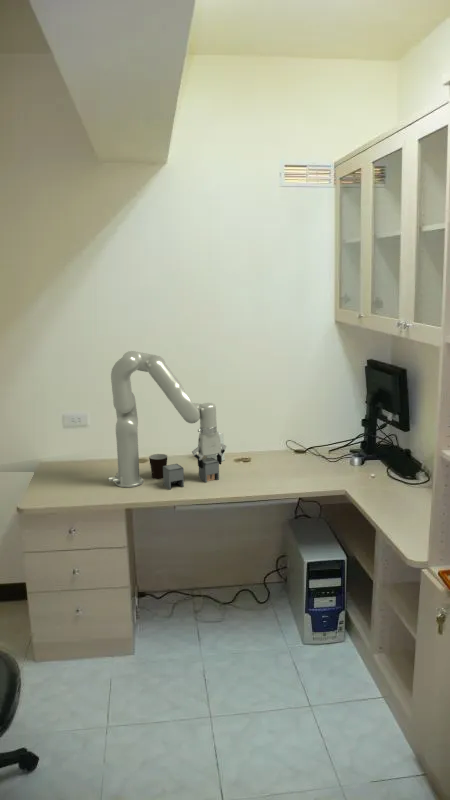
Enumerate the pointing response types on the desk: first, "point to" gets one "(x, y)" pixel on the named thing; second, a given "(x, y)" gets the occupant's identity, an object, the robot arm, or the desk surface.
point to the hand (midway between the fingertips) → (210, 465)
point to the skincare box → (221, 448)
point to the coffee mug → (157, 465)
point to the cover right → (209, 469)
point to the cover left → (173, 475)
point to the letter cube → (210, 477)
